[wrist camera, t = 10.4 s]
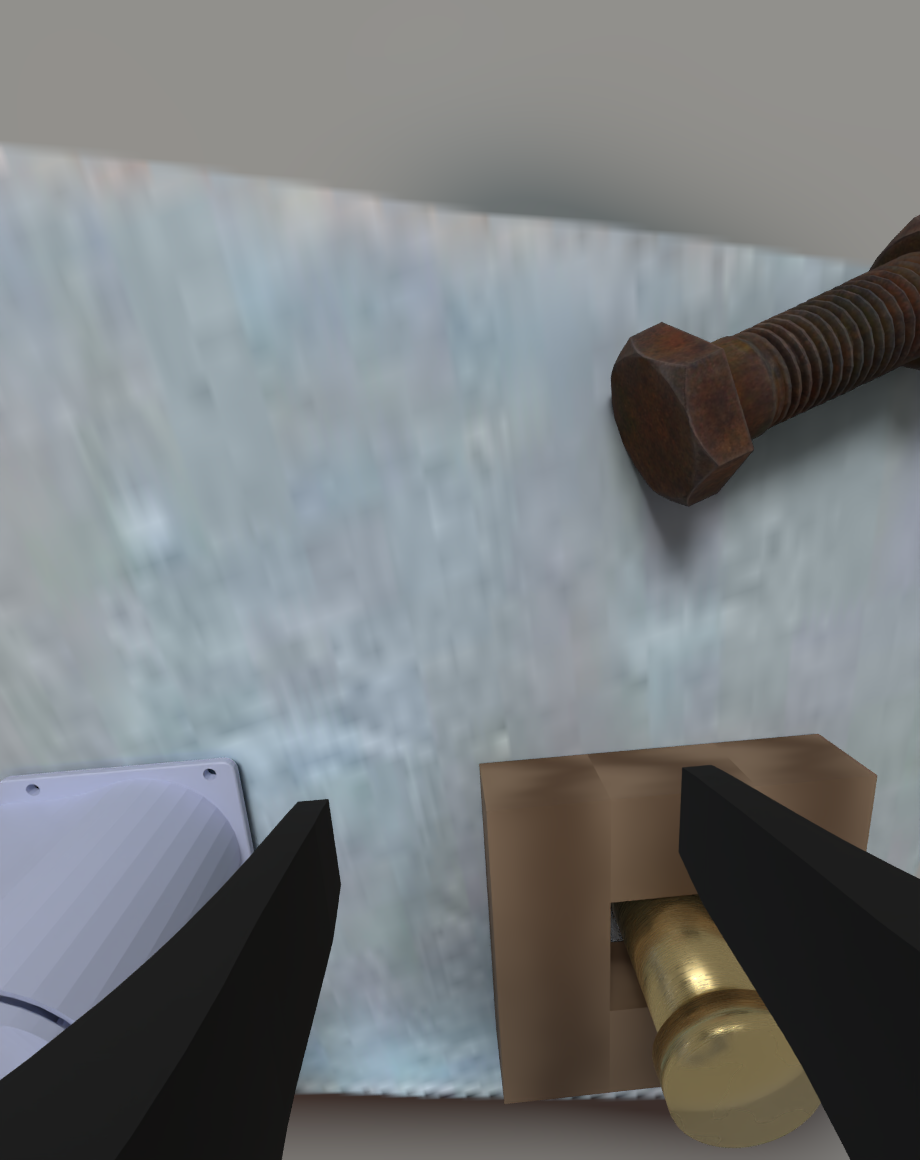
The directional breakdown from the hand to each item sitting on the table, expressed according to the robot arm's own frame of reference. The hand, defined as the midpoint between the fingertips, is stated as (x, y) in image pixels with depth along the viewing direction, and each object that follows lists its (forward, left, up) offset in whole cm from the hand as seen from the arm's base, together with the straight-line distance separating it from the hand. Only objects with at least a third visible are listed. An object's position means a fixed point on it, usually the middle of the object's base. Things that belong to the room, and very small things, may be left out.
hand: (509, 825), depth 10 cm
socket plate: (+8, -13, -10) cm, 18 cm away
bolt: (+13, +10, -11) cm, 20 cm away
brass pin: (+8, -12, -10) cm, 18 cm away
